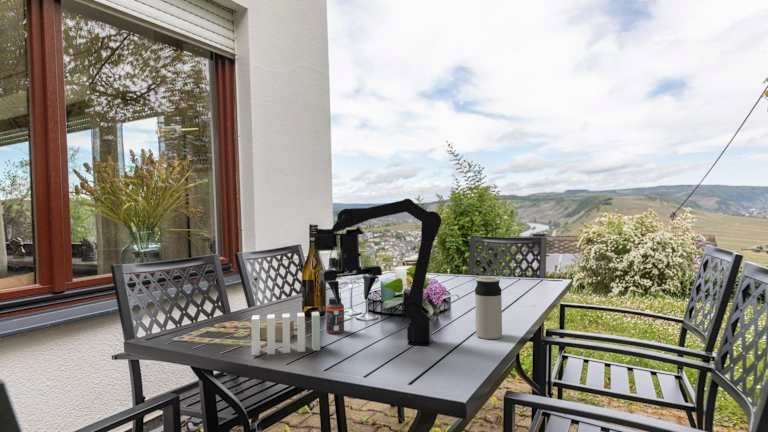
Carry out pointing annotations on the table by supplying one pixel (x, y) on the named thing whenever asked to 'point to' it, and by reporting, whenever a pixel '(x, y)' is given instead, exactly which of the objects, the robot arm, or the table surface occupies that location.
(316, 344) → the domino
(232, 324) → the pile of dominoes
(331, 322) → the supplement bottle
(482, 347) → the table surface
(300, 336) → the domino
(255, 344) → the domino
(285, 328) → the domino
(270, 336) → the domino
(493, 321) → the travel mug
